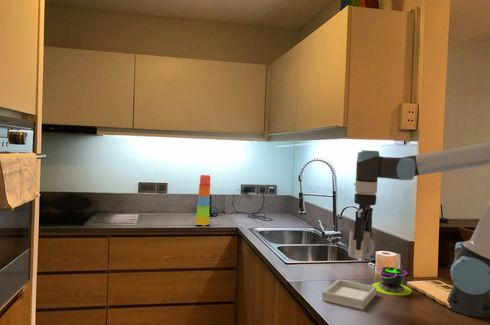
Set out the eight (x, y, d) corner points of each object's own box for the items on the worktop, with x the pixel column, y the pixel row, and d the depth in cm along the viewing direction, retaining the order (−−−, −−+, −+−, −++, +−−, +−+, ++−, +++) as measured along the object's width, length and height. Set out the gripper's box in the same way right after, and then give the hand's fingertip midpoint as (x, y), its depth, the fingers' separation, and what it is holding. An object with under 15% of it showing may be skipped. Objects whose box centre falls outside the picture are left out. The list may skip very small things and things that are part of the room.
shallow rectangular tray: (376, 294, 154) (376, 286, 154) (362, 309, 139) (363, 300, 139) (338, 286, 162) (338, 279, 162) (322, 300, 147) (322, 291, 147)
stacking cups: (195, 223, 286) (196, 174, 285) (210, 224, 287) (211, 174, 285) (194, 226, 276) (195, 175, 274) (209, 227, 276) (210, 175, 275)
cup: (356, 252, 154) (358, 229, 153) (379, 259, 146) (381, 234, 145) (344, 255, 150) (345, 231, 149) (366, 262, 142) (368, 236, 141)
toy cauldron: (366, 282, 169) (367, 255, 169) (403, 283, 169) (404, 256, 169) (378, 295, 154) (379, 266, 154) (418, 296, 154) (419, 267, 154)
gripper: (363, 190, 158) (359, 249, 159) (346, 194, 141) (342, 260, 142) (383, 192, 154) (379, 252, 155) (368, 196, 137) (364, 264, 138)
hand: (361, 256), depth 148 cm, fingers closed on cup, 7 cm apart
